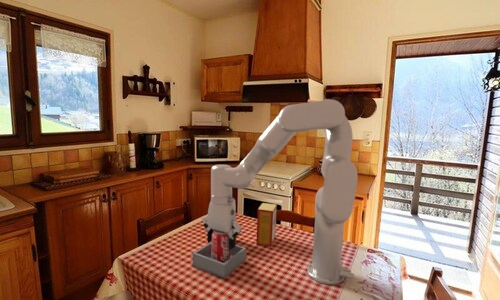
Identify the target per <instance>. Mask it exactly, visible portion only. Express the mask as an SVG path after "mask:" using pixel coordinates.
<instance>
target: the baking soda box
mask: <svg viewBox="0 0 500 300" xmlns="http://www.w3.org/2000/svg"><path fill="white" fill-rule="evenodd" d="M277 209H278V206H277V204H276V203H266V202H262V203H260V206H259V207H258V209H257V219H256V220H257V222H256V245H257V246H263V247H269V248H272V246H273V244H274V242H275V239H276V232H277V231H276V229H277V228H276V227H277Z"/></svg>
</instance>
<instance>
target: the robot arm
mask: <svg viewBox="0 0 500 300" xmlns="http://www.w3.org/2000/svg"><path fill="white" fill-rule="evenodd" d="M345 114H346V112H345V108H344V106H343V104H342V103H341V102H340V101H338V100H335V99H324V100H318V101H317V100H316V101H310V102H303V103H297V104H289V105H286V106H284V107H282V109H281V110H280V112H279V113H278V114H277V116H276V117H275V118H274V119H273V120H272V122H271V123H270V124H269V125H268V127H267V128H266V129H265V130H264V131H263V132H262V134H261V135H260V136H259V137H258V138H257V141H256V142H255V145H254V146H253V147H252V149H251V150H250V151H249V153H247V155H246V156H245V157H244V158H243V160H242V161H241V162H240V163H239V164H238V165H237V166H236V167H232V166H231V165H228V164H215V165H213V166H212V167H211V168H210V202H209V205H208V210H207V216H205V217H201V220H202V223H203V226H204V228H205V232H206V233H207V235H206V238H207V240H206V241H207V244H209V243H210V242H212V234H213V232H214V229H215V230H218V231H222V232H225V233H228V235H229V236H230V239H229V249H230V250H231V249H233V248H234V247H235V245H237V244H236V243H237V237H238V236H239V235H240V234H241V232H242V230H243V227H242V225H240V224H239V223H238V222H237V214H236V213H237V212H236V211H235V206H234V203H232V202H234V200H235V198H234V197H233V188H235V189H243V190H244V189H246V188H249V187H250V185H251V184H252V182H253V180H254V178H255V177H256V176H257V175H258V173H259V172H260V171H261V170H262V169H263V168H264V167H265V165H266V164H268V163H269V161H271V159H273V158H275V157H276V156H277V155H278V154H279V153H280V152H281V151H282V150H283V149H284V148H285V146H286V145H287V144H288V143H289V142H290V141H291V139H292V138H293V137H294V136H295V135H296V134H297V133H298V132H299V133H300V132H310V131H316V130H323V131H324V134H325V135H324V136H325V141H324V142H325V143H324V151H323V159H322V164H321V171H320V172H321V175H322V176H323V178H324V182H323V186H322V187H320V188H319V189H318V190H317V192H316V194H315V200H314V201H315V203H314V215H315V216H314V229H313V230H314V231H313V243H312V244H313V246H312V258H311V260H312V262H311V263H309V264H308V265H307V268H306V269H307V272H306V273H307V274H308V277H310V278H311V279H313V280H314V281H316V282H318V283H321V284H324V285H339V284H341V283H343V281H344V280H345V278H346V279H350V280H354V277H355V273H353V272H352V269H350V268H345V267H344V264H343V263H344V262H343V261H342V252H343V238H344V229H345V228H344V226H345V224H344V223H346V222H347V221H348V220H349V219H350V218H351V215H352V214H353V211H354V205H355V200H356V193H357V187H358V181H359V180H358V176H359V175H358V170H357V168H356V166H355V164H354V163H353V162H352V161H351V158H352V156H351V155H352V149H353V138H354V137H353V129H352V125H351V123H350V121H349V119H348V117H346V115H345ZM234 229H235V230H234ZM231 232H232V233H233V234H232V233H231Z"/></svg>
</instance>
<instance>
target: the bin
mask: <svg viewBox="0 0 500 300" xmlns="http://www.w3.org/2000/svg"><path fill="white" fill-rule="evenodd" d="M211 246H212V241H211V242H210V243H207V244H205V245H204V246H202V247H200V248H198V249H197V250H196V251H193V252H192V265H191V266H192V267H193V268H196V269H198V270H201V271H203V272H205V273H208V274H210V275H213V276H215V277H217V278H220V279H223V280H225V279H226V278H227V277H228V276H230V275H231V274H232V273H233V272H234V271H236V270H237V269H238V268H239V267H240V266H241V265H243V264H244V263H245V262H246V261H247V247H244V246H241V245H238V244H236V245H235V247H234V248H233V249H231V255H230V259H229V260H227V261H226V262H225V263H222V262H219V261H216V260H214V259H212V258H211Z"/></svg>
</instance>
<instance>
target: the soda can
mask: <svg viewBox="0 0 500 300" xmlns="http://www.w3.org/2000/svg"><path fill="white" fill-rule="evenodd" d="M213 230H214V232H213V234H212V241H211V242H212V246H211V258H212V259H214V260H216V261H219V262H222V263H225V262H226V261H227V260H229V259H230V255H231V250H230V249H229V239H230V236H229V235H228V233H225V232H222V231H218V230H215V229H213Z"/></svg>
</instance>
